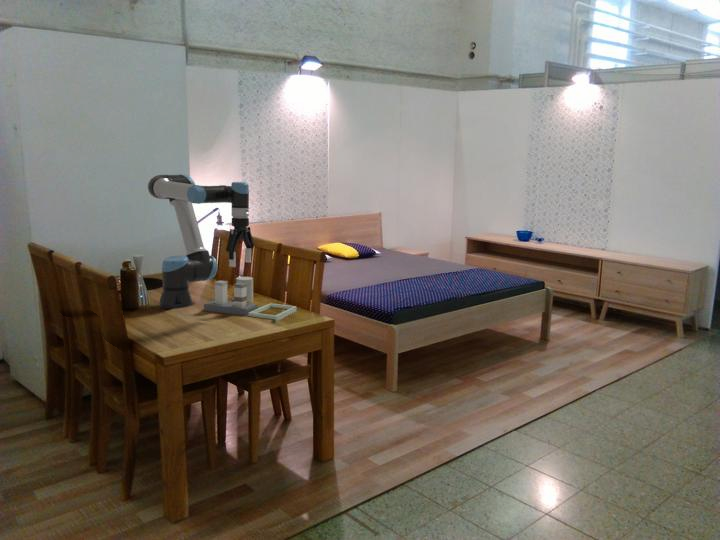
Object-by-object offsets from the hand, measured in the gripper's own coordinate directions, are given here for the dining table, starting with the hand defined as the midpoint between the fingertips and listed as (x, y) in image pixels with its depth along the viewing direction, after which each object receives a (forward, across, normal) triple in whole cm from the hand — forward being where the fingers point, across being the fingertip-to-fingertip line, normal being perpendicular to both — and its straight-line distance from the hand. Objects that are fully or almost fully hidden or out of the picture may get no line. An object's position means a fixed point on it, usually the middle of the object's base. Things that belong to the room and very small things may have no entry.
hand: (240, 264), depth 273 cm
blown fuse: (+22, 0, 0) cm, 22 cm away
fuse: (+22, 0, +10) cm, 24 cm away
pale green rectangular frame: (+23, +5, -14) cm, 27 cm away
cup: (+23, +21, +10) cm, 33 cm away
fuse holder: (+23, 0, +5) cm, 23 cm away
